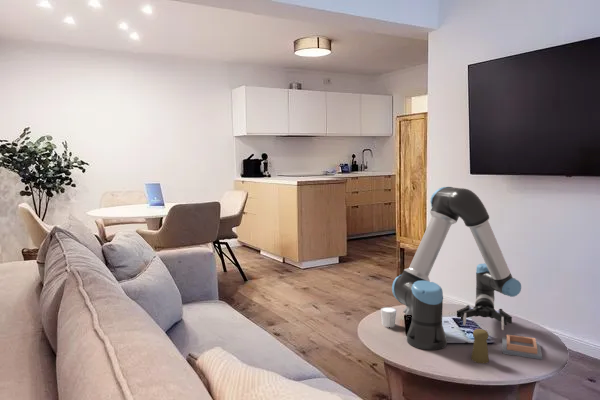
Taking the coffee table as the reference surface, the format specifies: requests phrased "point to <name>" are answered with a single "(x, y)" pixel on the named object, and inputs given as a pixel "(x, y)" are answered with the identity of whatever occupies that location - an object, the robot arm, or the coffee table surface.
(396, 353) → the coffee table surface
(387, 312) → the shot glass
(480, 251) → the robot arm
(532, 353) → the pallet plate
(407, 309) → the toy rhinoceros
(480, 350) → the cork
